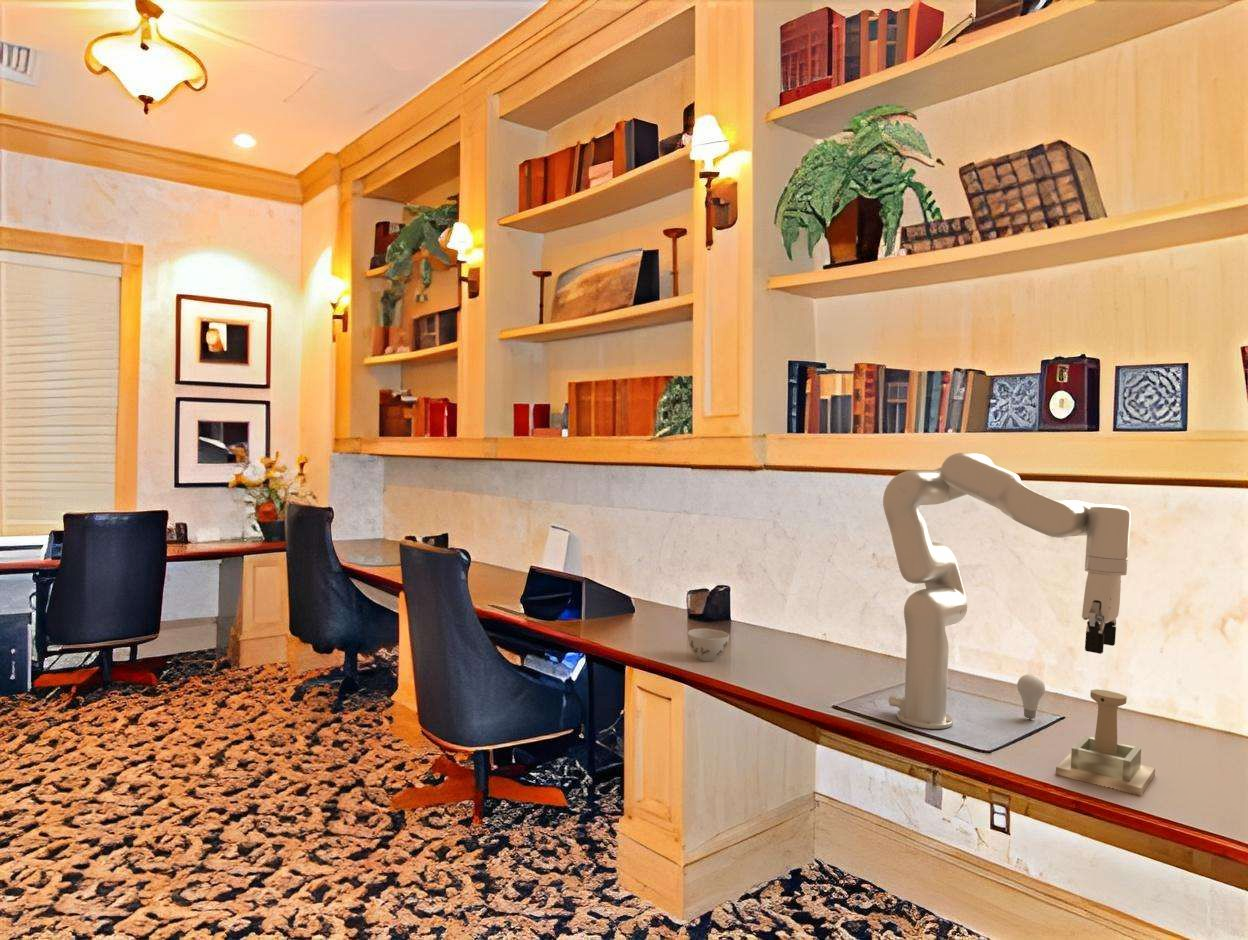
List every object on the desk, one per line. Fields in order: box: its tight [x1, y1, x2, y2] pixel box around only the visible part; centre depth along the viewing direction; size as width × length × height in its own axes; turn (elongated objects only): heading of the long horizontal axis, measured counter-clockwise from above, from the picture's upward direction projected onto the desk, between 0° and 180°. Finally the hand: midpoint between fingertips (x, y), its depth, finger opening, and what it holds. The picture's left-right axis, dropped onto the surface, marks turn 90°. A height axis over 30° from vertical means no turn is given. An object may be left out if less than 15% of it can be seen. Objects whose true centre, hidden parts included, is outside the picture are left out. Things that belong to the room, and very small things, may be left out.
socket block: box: [1055, 735, 1156, 796], centre depth 175 cm, size 15×14×6 cm
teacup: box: [687, 628, 730, 662], centre depth 260 cm, size 15×12×8 cm
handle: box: [1089, 688, 1128, 756], centre depth 175 cm, size 5×6×15 cm
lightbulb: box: [1016, 673, 1046, 720], centre depth 209 cm, size 6×6×11 cm
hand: (1100, 648), depth 177 cm, fingers open, 9 cm apart
